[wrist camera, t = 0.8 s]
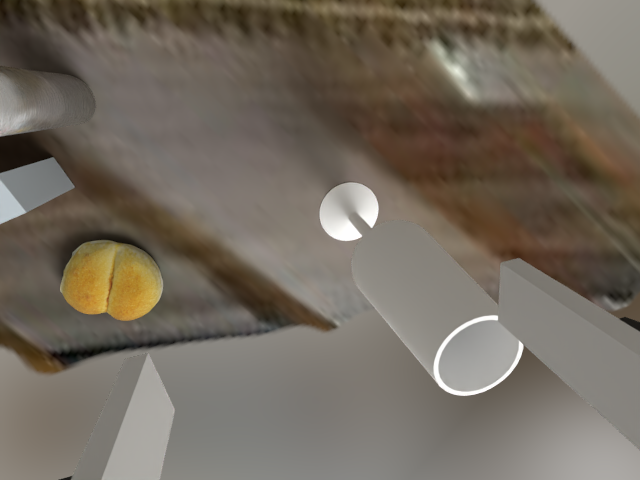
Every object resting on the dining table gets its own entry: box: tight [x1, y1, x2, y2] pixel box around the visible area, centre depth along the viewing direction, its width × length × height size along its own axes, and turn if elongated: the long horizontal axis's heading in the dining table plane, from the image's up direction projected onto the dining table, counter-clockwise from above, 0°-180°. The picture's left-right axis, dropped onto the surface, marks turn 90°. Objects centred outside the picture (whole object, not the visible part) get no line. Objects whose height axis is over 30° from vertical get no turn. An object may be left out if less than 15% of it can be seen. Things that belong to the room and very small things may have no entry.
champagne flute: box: [319, 182, 523, 396], centre depth 28 cm, size 7×7×24 cm
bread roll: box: [60, 240, 163, 320], centre depth 35 cm, size 8×9×4 cm
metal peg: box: [0, 66, 96, 136], centre depth 24 cm, size 4×4×14 cm
